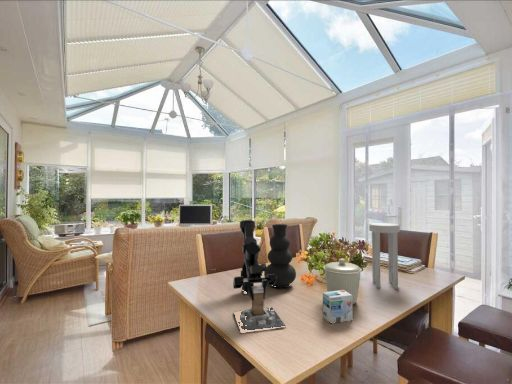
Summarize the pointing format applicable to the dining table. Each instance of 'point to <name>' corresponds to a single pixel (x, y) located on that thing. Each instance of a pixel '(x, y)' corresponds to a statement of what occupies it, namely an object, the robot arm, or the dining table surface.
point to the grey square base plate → (260, 319)
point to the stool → (392, 251)
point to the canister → (343, 277)
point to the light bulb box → (337, 306)
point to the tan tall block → (257, 300)
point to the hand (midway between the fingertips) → (258, 300)
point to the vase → (280, 257)
